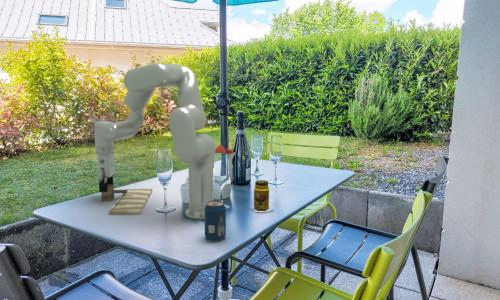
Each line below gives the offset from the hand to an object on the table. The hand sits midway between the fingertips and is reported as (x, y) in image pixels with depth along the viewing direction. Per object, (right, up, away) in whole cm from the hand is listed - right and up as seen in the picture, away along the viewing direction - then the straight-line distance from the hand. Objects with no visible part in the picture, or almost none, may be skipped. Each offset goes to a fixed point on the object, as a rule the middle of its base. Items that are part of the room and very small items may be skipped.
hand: (106, 188), depth 160 cm
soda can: (+51, -13, -38) cm, 65 cm away
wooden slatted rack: (+12, -6, -3) cm, 14 cm away
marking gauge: (+3, -5, +1) cm, 6 cm away
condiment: (+67, -8, -10) cm, 68 cm away
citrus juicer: (+47, 0, +29) cm, 55 cm away
